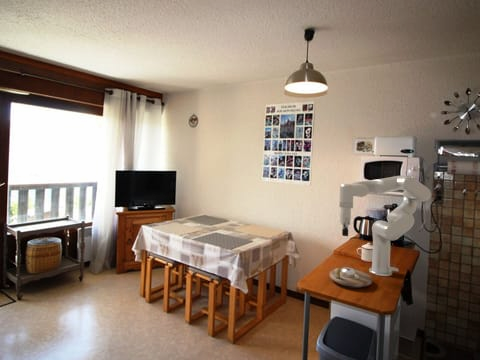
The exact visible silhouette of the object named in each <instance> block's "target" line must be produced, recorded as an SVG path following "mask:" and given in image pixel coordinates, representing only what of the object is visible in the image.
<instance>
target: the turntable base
mask: <svg viewBox="0 0 480 360" xmlns="http://www.w3.org/2000/svg"><path fill="white" fill-rule="evenodd" d="M335 283H337V282H335ZM337 284H338V285H340V286H343V287H345V288H350V289H361V288H364V287H365V286H362V287H355V286H348V285H343V284H340V283H337Z"/></svg>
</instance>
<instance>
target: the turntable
mask: <svg viewBox="0 0 480 360" xmlns="http://www.w3.org/2000/svg"><path fill="white" fill-rule="evenodd" d="M354 270H355V277H354V278H346V277H343V276H342V275H341V271H342V268H338V267H336V268H335V269H332V270H329V278H330V280H332V281H333V282H335V283H336V282H337V284H338V283H340V284H343V285H348V286H355V287H362V286H364V287H367V286H370V285H371V284H372V283H373V277H372V276H371V275H370V274H368V273H366V272H363V271H361V270H357V269H354ZM340 284H339V285H340ZM362 288H363V287H362Z"/></svg>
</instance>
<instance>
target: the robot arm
mask: <svg viewBox="0 0 480 360" xmlns="http://www.w3.org/2000/svg"><path fill="white" fill-rule="evenodd" d="M396 191H403V192H402V193H403V200H402V202H401V203H400V204H399V205H398V206H397V207H395V208H394V209H393V210H392V211H390V212H389V213H388V214H387V216H386V220H387V221H385V220H376V221H374V222H373V224H372V226H371V232H372V233H371V234H372V246H373V257H372V262H371V267H370V268H369V269H368V271H369V273H371V274H373V275H375V276H379V277H380V276H381V277H390V276H393V272H397V273H398V272H399V268H398V267H395V266H391V247H392V246H391V241H396V240H398V239H400V238H401V237H402V236H403V235H405V234H406V233H407V232H408V231H410V230H411V229H412V227H414V224H415V217H414V215H413V214H414V213H415V212H416V210H417V207H418V206H417V202H427V201H429V200H430V199H431V197H432V192H431V190H430V189H429V188H428V186H426V185H424V184H423V183H421V182H420V181H418V180H417V179H415V178H414V177H412V176H409V175H407V176H406V175H396V176H395V175H393V176H391V177H389V176H388V177H385V178H378V179H371V180H363V181H357V182H356V181H355V182H352V183H342V184H340V186H339V208H340V213H339V214H340V218H339V222H340V225H342V228H341V229H342V230H341V232H342V233H341V235H342V236H343V237H348V236H349V226H350V225H351V218H352V216H351V214H352V209H353V208H354V197H358V198H359V197H360V198H364V197H366V196H367V195H368V194H370V193H371V194H372V193H373V194H386V193H389V192H391V193H392V192H396Z"/></svg>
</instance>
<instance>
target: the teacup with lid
mask: <svg viewBox="0 0 480 360" xmlns="http://www.w3.org/2000/svg"><path fill="white" fill-rule="evenodd" d="M359 250H361V253H360V252H359ZM356 252H357V255H359V256H361V258H360V259H361V260H362V261H364V262H367V263H368V262H370V263H372V257H373V244H371V242H367V243H366V244H363V245H361V247H358V248H356Z"/></svg>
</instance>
